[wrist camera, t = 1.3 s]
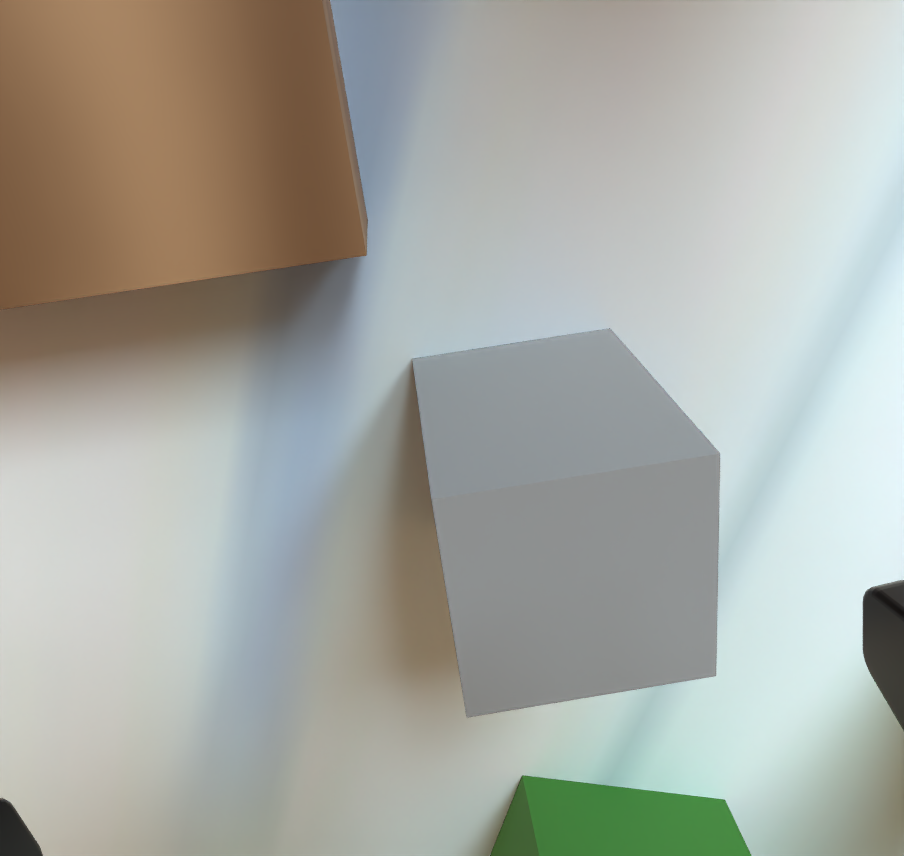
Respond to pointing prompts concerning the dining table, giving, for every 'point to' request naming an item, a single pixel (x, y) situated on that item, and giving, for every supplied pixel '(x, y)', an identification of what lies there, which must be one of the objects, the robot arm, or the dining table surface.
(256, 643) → the dining table surface
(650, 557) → the grey block
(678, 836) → the hardback book
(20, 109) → the brown block
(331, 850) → the dining table surface
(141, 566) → the dining table surface
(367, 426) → the dining table surface
